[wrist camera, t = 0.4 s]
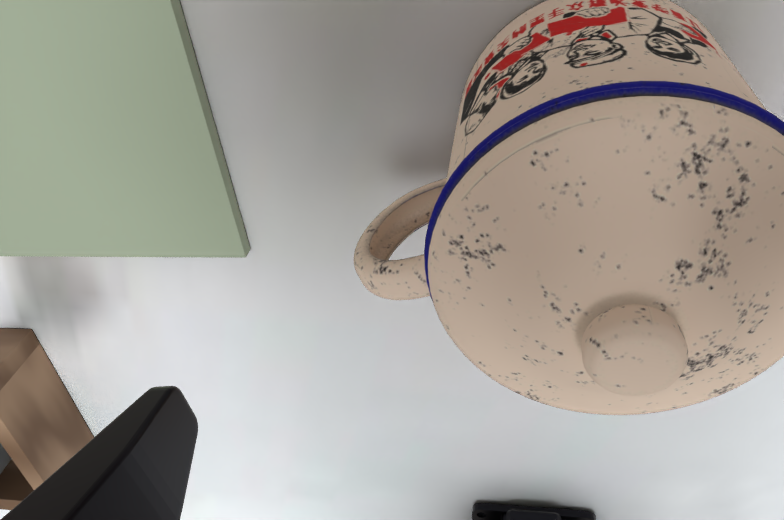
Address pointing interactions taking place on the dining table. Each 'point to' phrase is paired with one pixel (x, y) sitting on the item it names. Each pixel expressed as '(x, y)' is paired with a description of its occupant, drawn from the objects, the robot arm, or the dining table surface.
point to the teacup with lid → (601, 214)
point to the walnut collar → (33, 417)
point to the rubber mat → (109, 135)
